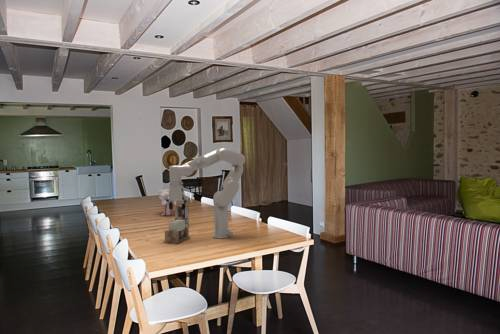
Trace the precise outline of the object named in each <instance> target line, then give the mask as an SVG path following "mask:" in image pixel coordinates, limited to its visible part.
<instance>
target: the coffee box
mask: <svg viewBox="0 0 500 334" xmlns="http://www.w3.org/2000/svg"><path fill="white" fill-rule="evenodd" d="M185 207H186V208H185V209H184V210H182V205H175V207H174V221H175V220H185V226H186V227H188V228H189V226H190V224H189V223H190V222H189V216H190V215H189V206H188V205H185Z"/></svg>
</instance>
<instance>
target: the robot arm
mask: <svg viewBox="0 0 500 334" xmlns="http://www.w3.org/2000/svg"><path fill="white" fill-rule="evenodd" d="M221 161H223V162H226V163H229V164H230V165H231V168H230V171H229V172H228V174H227V176H226V177H225V179H224V180H223V181H222V190H218V191H216V192H215V193H214V194H213V200H212V203H213V212H214V213H213V217H214V219H213V221H214V223H213V225H214V228H213V229H214V233H213V234H212V238H214V239H227V238H230V237H231V236H233V235H234V231H230V228H229V208H228V207H229V206H230V205H231V203H232V201H233V200H234V198H235V196H236V195H237V193H239V188H240V183H239V181H240V179H241V177H242V175H243V173H244V164H245V162H246V157H245V155H244V154H242V153H241V152H237V151H234V150H232V149H229V148H226V147H220V148H217V149H214V150H212V151H210V152H208V153H205V154H203V155H201V156H198V157H197V158H194V159H192V160H190V161H187V162H186V163H183V164H181V165H178V164H177V165H175V164H174V165H170V166H168V170H169V187H168V189H169V195H167V196H166V197H165V199H166V201H167V202H168V204H169V209H173V210H174V203H172V201H177V202H180V203H181V206H182V210H184V209H185V208H186V207H185V206H186V203H187V202H188V200H189V196H187V195H185V189H184V188H185V187H184V182H183V181H182V176H184V177H188V176H191V175H192V174H193V173H194V172H195V171H197V170H200V169H205V168H209V167H211V166H213V165H215V164H217V163H220V162H221ZM168 197H169V199H168Z"/></svg>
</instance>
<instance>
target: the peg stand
mask: <svg viewBox="0 0 500 334" xmlns="http://www.w3.org/2000/svg"><path fill="white" fill-rule="evenodd" d="M189 239H191V236H190V235H189V226H188V227H186V226H185V229H183V230H181V231H179V232H178V231H169V229H165V230H164V240H163V244H170V245H171V244H172V245H179V244H181V243H184V242H186V241H188V240H189ZM185 240H186V241H185Z"/></svg>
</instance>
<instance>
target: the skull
mask: <svg viewBox="0 0 500 334" xmlns="http://www.w3.org/2000/svg"><path fill="white" fill-rule="evenodd" d="M157 192H158V198H159V200H160V202H161V205H162V206H163V213H162V214H161V216H164V217H166V216H173V215H175V212H173V210H174V208H173V209H169V204H168V202H167V201H166V199H165V197H166V196H167V195H169V188H162V189H161V188H160V189H158V191H157ZM168 199H169V197H168ZM177 202H178V201H172V204H173V206H177Z"/></svg>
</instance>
